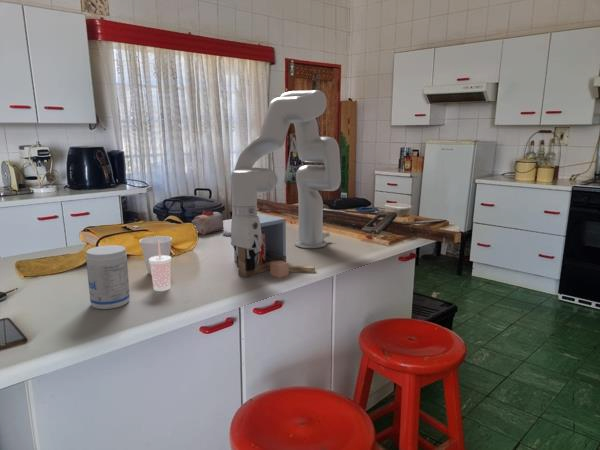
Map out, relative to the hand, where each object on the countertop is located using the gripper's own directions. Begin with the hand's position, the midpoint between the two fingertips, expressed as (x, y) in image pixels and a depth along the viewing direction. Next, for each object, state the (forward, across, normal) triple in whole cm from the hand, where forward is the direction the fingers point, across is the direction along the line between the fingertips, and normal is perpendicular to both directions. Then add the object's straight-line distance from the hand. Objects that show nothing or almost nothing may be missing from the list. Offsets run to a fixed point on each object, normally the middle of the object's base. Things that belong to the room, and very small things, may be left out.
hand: (246, 268), depth 136 cm
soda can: (+2, +8, -10) cm, 13 cm away
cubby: (+2, +8, -13) cm, 15 cm away
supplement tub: (+3, +7, +39) cm, 40 cm away
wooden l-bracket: (+2, +4, -7) cm, 9 cm away
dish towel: (+3, +46, -40) cm, 61 cm away
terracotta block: (+2, -7, -8) cm, 11 cm away
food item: (+3, +60, -26) cm, 66 cm away
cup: (+3, +22, +18) cm, 29 cm away
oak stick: (+3, -9, -15) cm, 18 cm away
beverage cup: (+3, +8, +24) cm, 26 cm away
